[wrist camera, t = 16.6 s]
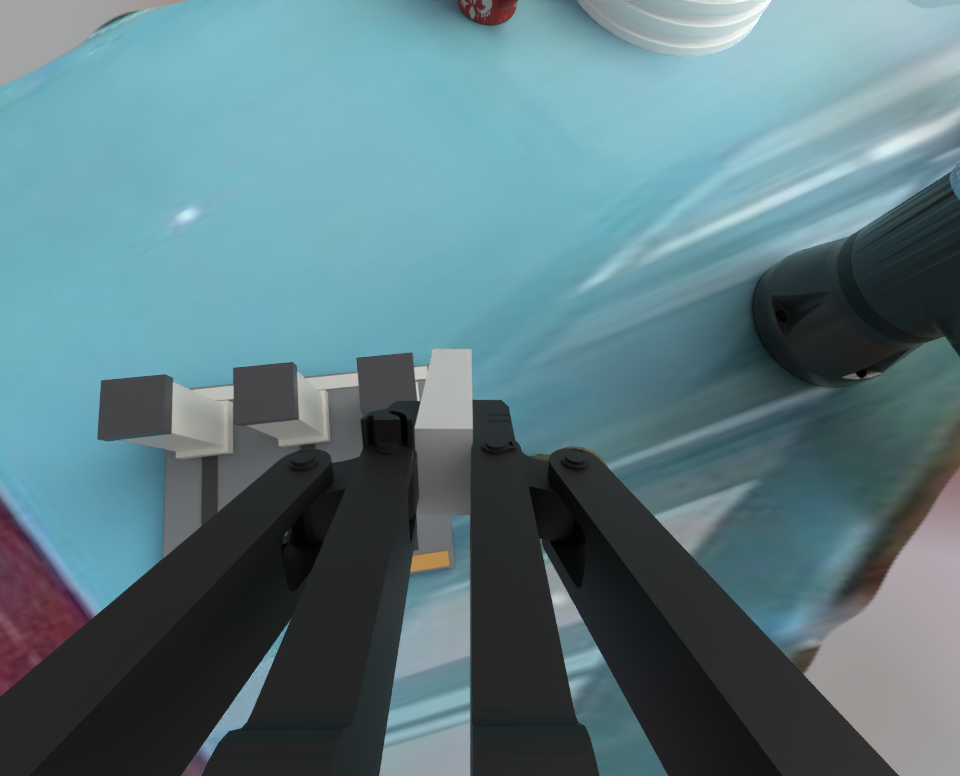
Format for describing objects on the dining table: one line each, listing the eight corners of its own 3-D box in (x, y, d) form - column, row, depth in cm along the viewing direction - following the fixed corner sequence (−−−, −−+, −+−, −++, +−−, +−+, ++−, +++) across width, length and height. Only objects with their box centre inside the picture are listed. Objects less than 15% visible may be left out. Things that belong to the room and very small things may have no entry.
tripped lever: (422, 431, 40) (419, 409, 30) (377, 437, 39) (359, 416, 30) (417, 384, 41) (413, 348, 31) (373, 389, 40) (354, 353, 31)
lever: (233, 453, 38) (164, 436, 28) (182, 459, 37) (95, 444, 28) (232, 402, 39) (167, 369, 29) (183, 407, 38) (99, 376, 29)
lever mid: (330, 441, 39) (296, 421, 29) (282, 447, 38) (232, 428, 29) (327, 392, 40) (294, 357, 30) (280, 397, 39) (231, 363, 30)
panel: (455, 565, 39) (455, 567, 37) (170, 610, 36) (159, 615, 34) (432, 367, 43) (432, 363, 42) (175, 393, 40) (166, 390, 38)
